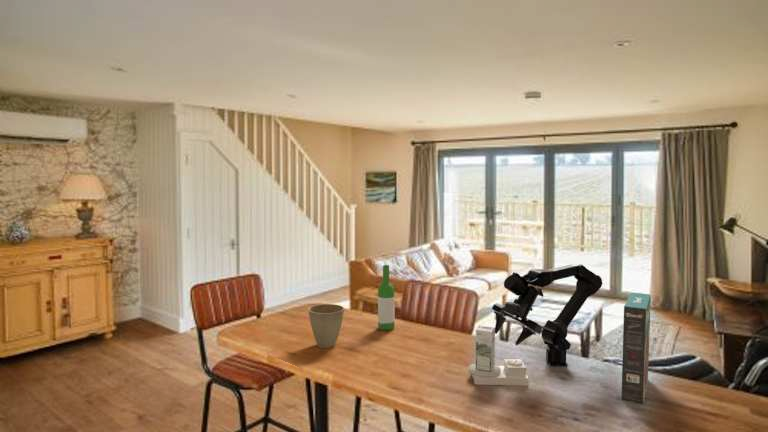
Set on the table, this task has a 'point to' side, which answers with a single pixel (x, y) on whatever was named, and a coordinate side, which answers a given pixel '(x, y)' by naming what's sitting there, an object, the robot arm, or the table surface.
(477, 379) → the scale
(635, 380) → the cake mix box
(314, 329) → the plant pot
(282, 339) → the table surface
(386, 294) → the wine bottle
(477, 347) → the syrup box
